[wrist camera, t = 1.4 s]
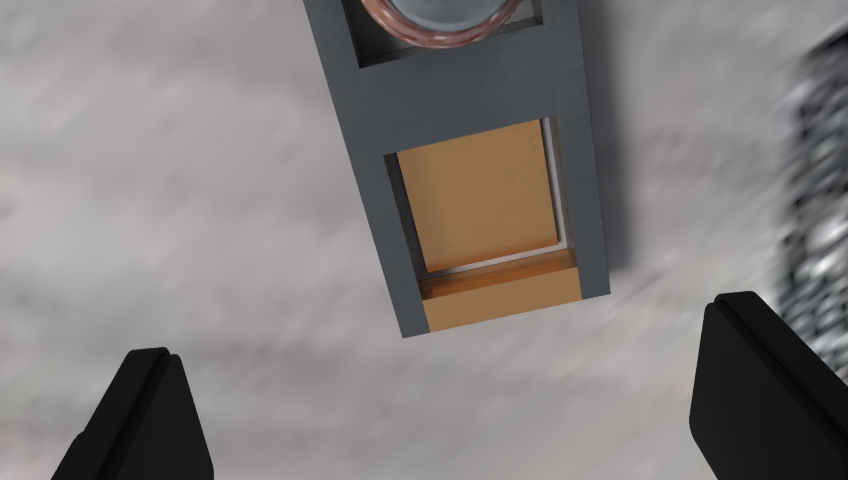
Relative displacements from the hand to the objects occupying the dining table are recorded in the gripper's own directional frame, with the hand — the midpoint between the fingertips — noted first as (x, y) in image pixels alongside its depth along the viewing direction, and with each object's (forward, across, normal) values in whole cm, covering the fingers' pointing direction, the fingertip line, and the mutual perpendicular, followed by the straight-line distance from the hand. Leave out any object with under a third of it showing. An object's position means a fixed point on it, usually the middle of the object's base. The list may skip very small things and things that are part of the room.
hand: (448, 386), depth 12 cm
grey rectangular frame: (+21, -2, 0) cm, 21 cm away
